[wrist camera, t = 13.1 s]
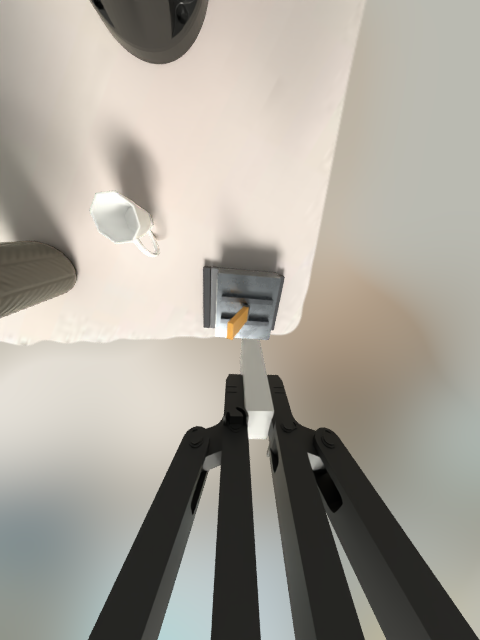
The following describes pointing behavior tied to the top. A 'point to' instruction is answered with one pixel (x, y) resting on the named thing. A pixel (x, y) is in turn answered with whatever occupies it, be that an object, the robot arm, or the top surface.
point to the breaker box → (246, 301)
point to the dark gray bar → (278, 301)
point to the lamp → (32, 275)
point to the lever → (238, 322)
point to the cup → (122, 220)
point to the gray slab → (210, 295)
